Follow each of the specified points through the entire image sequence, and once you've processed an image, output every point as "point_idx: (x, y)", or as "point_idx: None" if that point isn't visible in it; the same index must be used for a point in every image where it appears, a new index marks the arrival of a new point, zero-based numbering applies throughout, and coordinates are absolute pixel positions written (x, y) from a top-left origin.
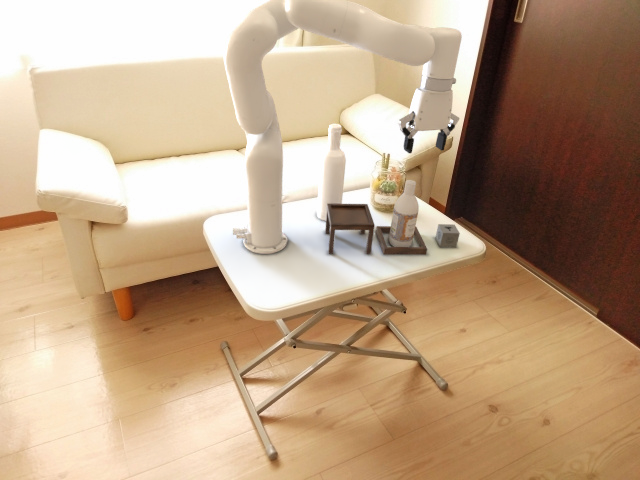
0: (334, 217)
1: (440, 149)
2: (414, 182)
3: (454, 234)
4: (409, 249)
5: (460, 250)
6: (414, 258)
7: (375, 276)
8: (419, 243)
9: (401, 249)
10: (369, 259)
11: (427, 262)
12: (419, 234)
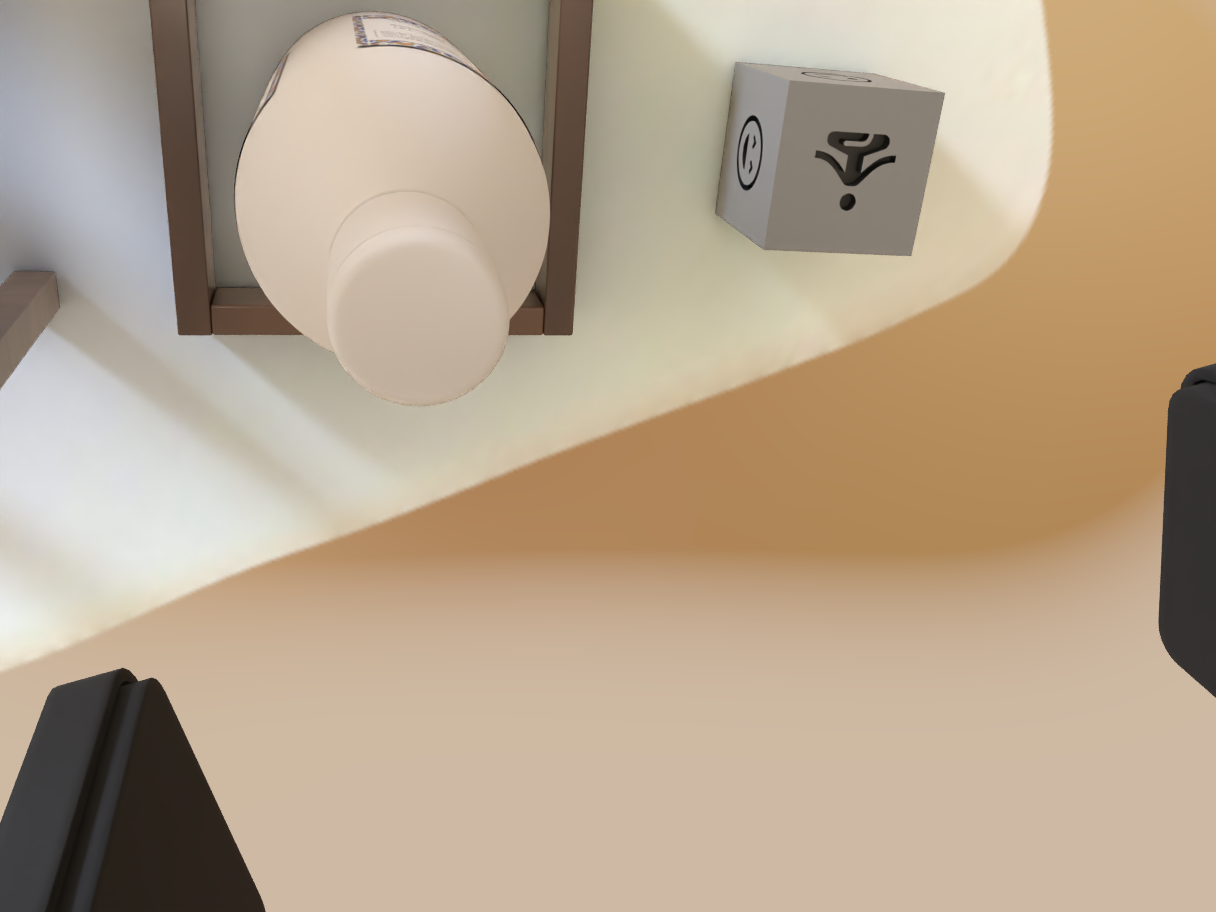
0: None
1: (1163, 617)
2: (478, 345)
3: (862, 251)
4: None
5: (863, 260)
6: None
7: (83, 590)
8: None
9: None
10: (45, 383)
11: (538, 417)
12: (579, 96)
